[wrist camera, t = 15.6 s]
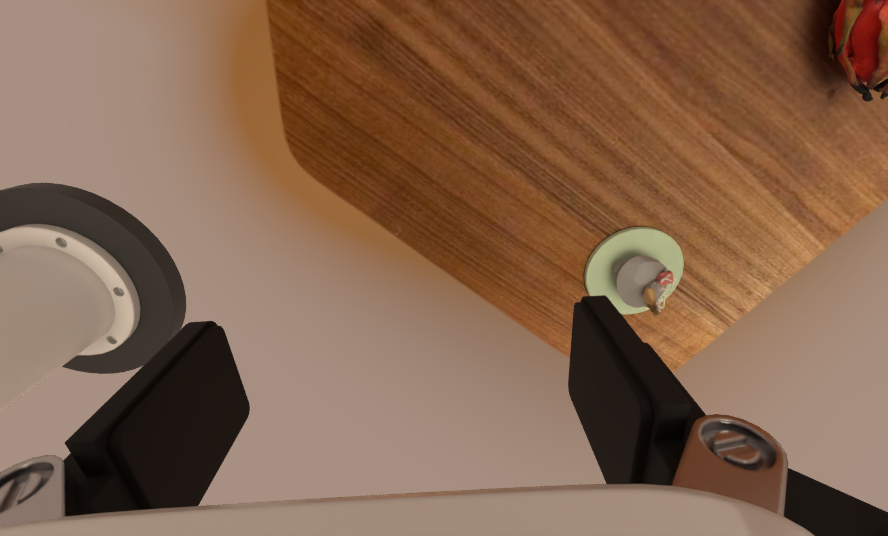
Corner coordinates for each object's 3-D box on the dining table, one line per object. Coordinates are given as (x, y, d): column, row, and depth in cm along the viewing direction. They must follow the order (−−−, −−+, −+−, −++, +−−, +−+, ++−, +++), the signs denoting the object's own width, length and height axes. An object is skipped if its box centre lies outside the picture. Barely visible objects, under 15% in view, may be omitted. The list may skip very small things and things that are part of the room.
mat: (581, 314, 39) (583, 317, 38) (586, 230, 35) (589, 232, 35) (672, 307, 38) (676, 311, 38) (687, 222, 35) (691, 224, 34)
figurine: (599, 261, 36) (627, 294, 30) (649, 237, 35) (686, 267, 29) (620, 306, 38) (649, 345, 32) (668, 285, 37) (706, 322, 31)
